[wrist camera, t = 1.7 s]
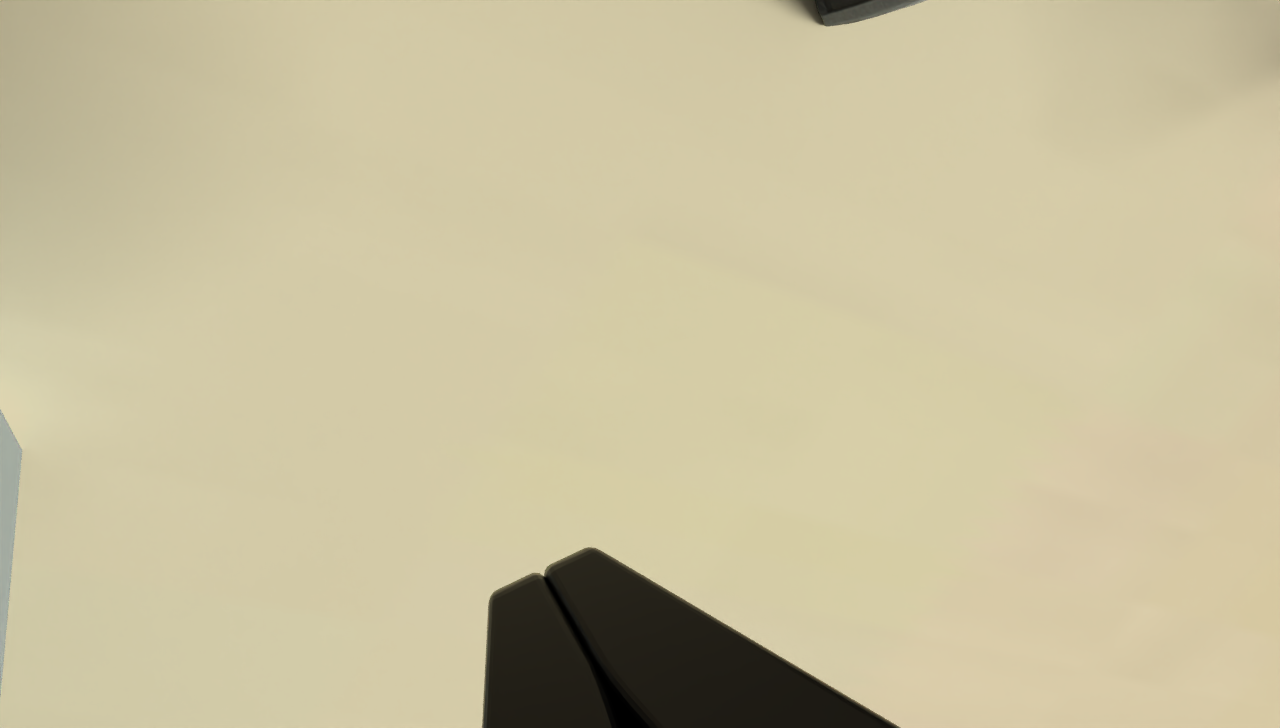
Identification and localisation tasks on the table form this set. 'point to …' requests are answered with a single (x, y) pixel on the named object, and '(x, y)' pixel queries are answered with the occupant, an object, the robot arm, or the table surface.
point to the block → (7, 519)
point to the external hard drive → (857, 9)
